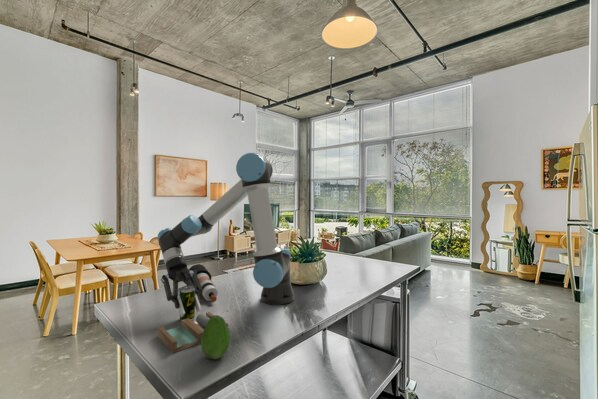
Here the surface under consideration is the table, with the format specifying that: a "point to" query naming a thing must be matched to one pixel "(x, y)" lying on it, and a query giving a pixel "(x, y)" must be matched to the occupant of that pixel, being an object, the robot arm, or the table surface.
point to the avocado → (215, 338)
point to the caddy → (183, 334)
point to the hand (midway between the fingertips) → (191, 312)
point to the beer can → (188, 302)
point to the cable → (205, 282)
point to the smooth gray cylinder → (202, 320)
